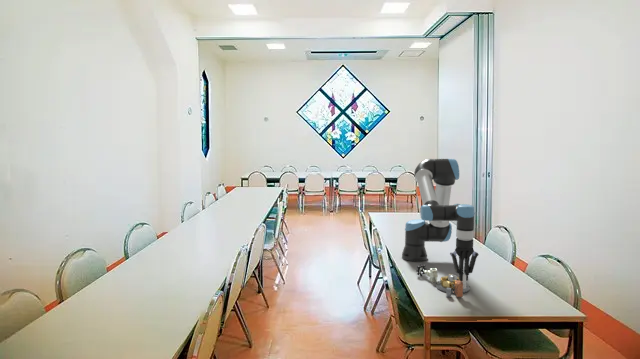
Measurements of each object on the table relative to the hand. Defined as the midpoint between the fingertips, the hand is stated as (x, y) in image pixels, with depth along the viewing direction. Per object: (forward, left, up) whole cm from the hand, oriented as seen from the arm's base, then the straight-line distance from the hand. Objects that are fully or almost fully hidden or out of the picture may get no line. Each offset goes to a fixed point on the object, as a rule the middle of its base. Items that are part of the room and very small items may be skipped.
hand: (463, 287), depth 199 cm
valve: (-21, -16, -5) cm, 27 cm away
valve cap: (-11, -4, -5) cm, 13 cm away
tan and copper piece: (-7, -3, -3) cm, 8 cm away
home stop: (+1, -6, -5) cm, 8 cm away
